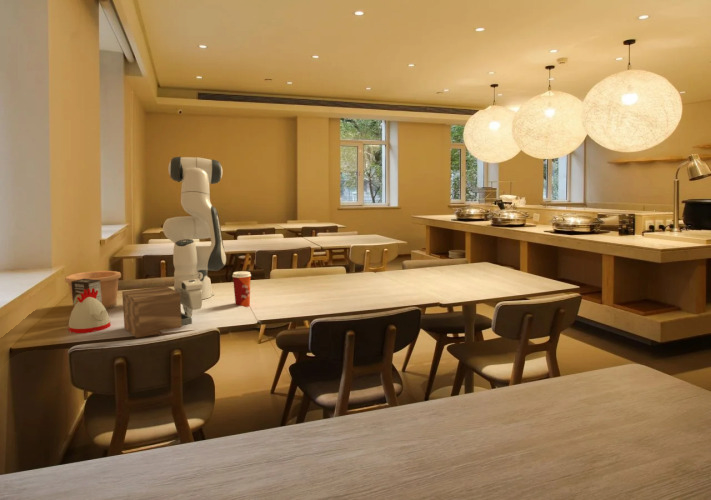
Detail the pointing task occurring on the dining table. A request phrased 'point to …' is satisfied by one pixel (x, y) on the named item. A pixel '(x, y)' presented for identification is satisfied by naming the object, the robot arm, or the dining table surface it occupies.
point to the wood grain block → (151, 310)
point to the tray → (185, 319)
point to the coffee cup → (242, 288)
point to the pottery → (107, 284)
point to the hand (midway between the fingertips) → (188, 316)
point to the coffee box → (86, 284)
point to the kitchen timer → (88, 314)
